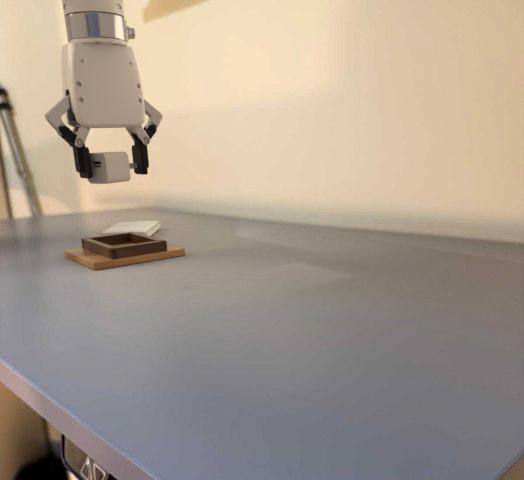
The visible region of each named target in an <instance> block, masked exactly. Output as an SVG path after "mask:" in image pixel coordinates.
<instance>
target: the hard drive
mask: <svg viewBox="0 0 524 480" xmlns="http://www.w3.org/2000/svg"><path fill="white" fill-rule="evenodd" d="M160 229H161V222H160V221H159V220H139V221H138V220H136V221H135V220H134V221H133V220H132V221H131V220H130V221H119V222H117V223H115V224H113V225H112V226H110V227H108V228H107V229H105V230H103V231H101V232H100V233H99V234H98V236H102V235H110V234H118V233H125V232H136V233H140V234H144V235H147V236H151V237H152V235H154V234H155V233H156V232H157V231H159V230H160Z"/></svg>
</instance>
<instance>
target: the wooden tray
mask: <svg viewBox="0 0 524 480" xmlns="http://www.w3.org/2000/svg"><path fill="white" fill-rule="evenodd" d="M80 242H81V247H79V248H72V249H71V248H70V249H65V250H63V253H64V258H67V259H69V260H71V261H74V262H76V263H77V264H80V265H83V266H85V267H87V268H89V269H91V270H94V271H100V270H105V269H111V268H115V267H116V268H117V267H122V266H128V265H134V264H140V263H147V262H152V261H159V260H164V259H171V258H177V257H181V256H182V257H183V256H185V255H186V249H185V248H184V247H181V246H176V245H173V244H170V243H168V242H167V240H165V239H162V238H159V237H158V238H157V237H154V236H152V235H151V236H147V235H144V234H140V233H136V232H125V233H118V234H110V235H102V236H99V235H95V236H88V237H81V238H80Z"/></svg>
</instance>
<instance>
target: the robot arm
mask: <svg viewBox="0 0 524 480" xmlns="http://www.w3.org/2000/svg"><path fill="white" fill-rule="evenodd" d="M61 3H62V10H63V17H64V23H65V30H66V38H67V43H66V44H63V45H61V57H60V60H61V61H60V65H61V68H60V69H61V88H62V89H61V91H62V98H61V99H60V100H59V101H58V102H57V103H56V104H55V105H53V106H52V107H51V108H50V109H49V110H48V111H47V112H46V113H45V114H44V119H45V120H46V121H47V123H48V124H49V125H50V126H51V127H52V128H53V130H55V132H56V134H57V135H58V136H59V137H61V138H62V139H63V141H65V142H66V143H67V144H68V146H69V147H70V148H72V154H73V161H74V166H75V172H77V173H79V178H80V179H87V180H88V179H89V178H92V177H93V174H92V167H91V160H90V153H91V152H90V149H89V147H88V146H86V140H87V138H88V135H89V134H90V131H91V129H120V128H121V129H122V128H125V130H126V132H127V134H128V135H129V136H130V138H131V139H132V141H133V144H132V145H131V156H132V163H137V168H134V169H133V172H134V174H136V175H142V176H143V175H145V176H146V175H148V174H149V173H148V172H149V170H148V169H149V167H150V162H149V161H150V160H149V151H148V145H149V144H150V143H151V140H152V139H153V137H154V136H155V134H156V133H157V132H158V131H157V130H158V128H159V126H160V124H161V122H162V120H163V118H164V114H163V113H162V112H161V111H160V110H158V108H156V107H155V106H154V105H153V104H151V103H150V102H149V101H148V100H147V99H145V97H144V92H143V87H142V80H141V77H140V71H139V67H138V63H137V60H136V56H135V53H134V50H133V47H132V46H129V45H128V43H129V41H130V40H135V38H136V29H135V28H134V27H130V26H128V25H127V19H125V10H124V0H61ZM63 115H64V117H65V121H66V123H67V125H69V126H70V127H72V128H73V129H72V130H71V128H69V127H68V126H67V125H66V124H65V122H63V119H62V116H63ZM146 116H147V118H148V120H147V123H146V125H145V126H144V127H143V124H144V123H145V121H146ZM134 167H136V165H135V164H134Z"/></svg>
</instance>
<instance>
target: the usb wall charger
mask: <svg viewBox="0 0 524 480" xmlns="http://www.w3.org/2000/svg"><path fill="white" fill-rule="evenodd" d="M89 153H90V160H91V167H92V174H93V177H92V178H89V179H87V181H88V183H89V184H92V185H108V184H115V183H124V182H130V180H131V170H132V169H133V170H134V168H137V163H133V162H130V159H129V154H128V153H127V151H101V152H89ZM134 164H135V165H136V167H134Z"/></svg>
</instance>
